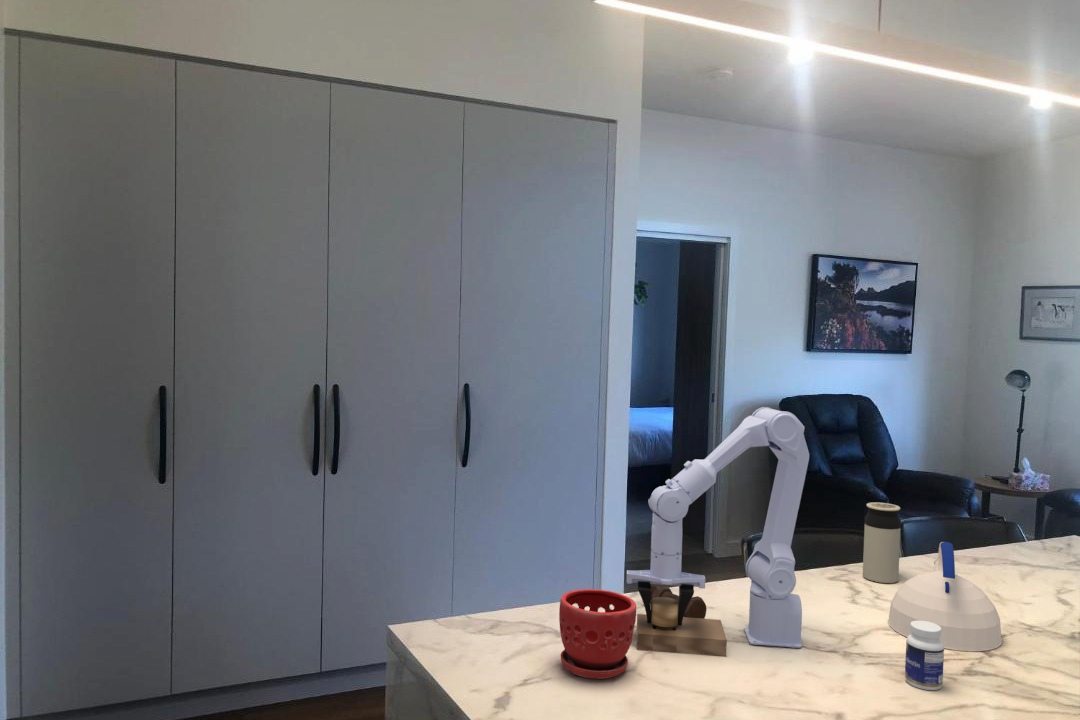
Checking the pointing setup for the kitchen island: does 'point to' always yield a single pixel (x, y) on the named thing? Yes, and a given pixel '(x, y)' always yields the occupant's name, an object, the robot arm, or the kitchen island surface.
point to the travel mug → (881, 543)
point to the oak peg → (664, 613)
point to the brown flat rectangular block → (683, 637)
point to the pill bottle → (924, 656)
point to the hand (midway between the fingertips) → (664, 622)
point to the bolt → (693, 609)
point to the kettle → (947, 607)
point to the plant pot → (596, 632)
